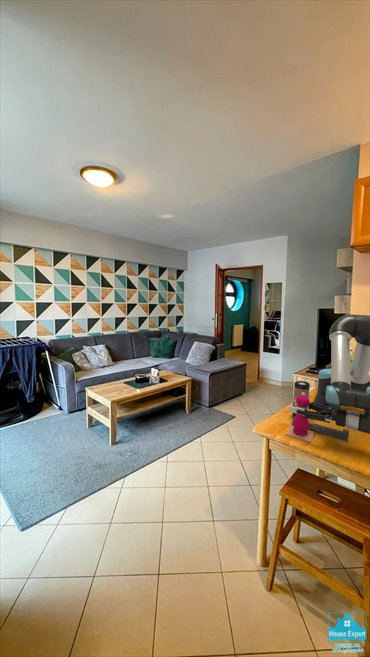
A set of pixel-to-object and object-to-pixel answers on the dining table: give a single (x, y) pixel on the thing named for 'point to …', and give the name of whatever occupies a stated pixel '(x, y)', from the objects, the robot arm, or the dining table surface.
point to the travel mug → (300, 391)
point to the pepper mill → (301, 416)
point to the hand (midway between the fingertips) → (292, 405)
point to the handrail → (328, 431)
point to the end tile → (305, 438)
